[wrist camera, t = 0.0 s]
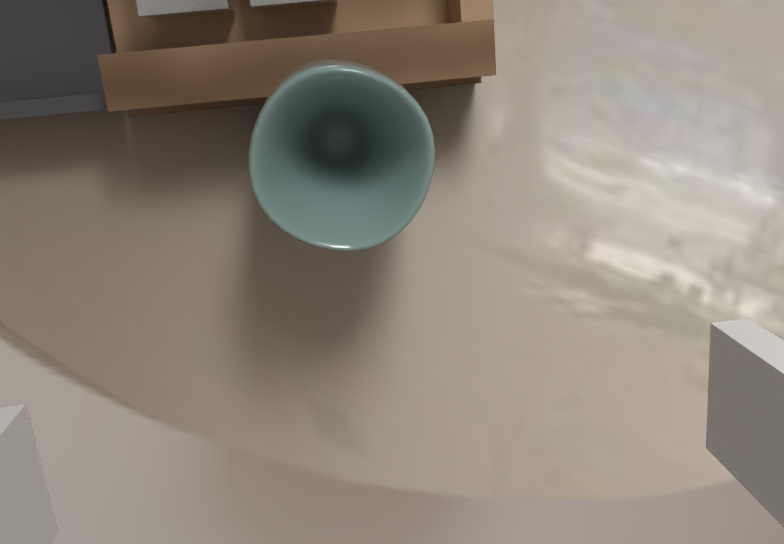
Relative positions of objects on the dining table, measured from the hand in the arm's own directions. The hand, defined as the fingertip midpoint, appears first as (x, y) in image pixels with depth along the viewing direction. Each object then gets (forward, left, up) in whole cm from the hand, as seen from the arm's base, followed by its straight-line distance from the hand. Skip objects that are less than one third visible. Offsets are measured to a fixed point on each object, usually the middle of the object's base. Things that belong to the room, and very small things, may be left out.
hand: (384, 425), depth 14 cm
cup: (-3, 0, -28) cm, 28 cm away
